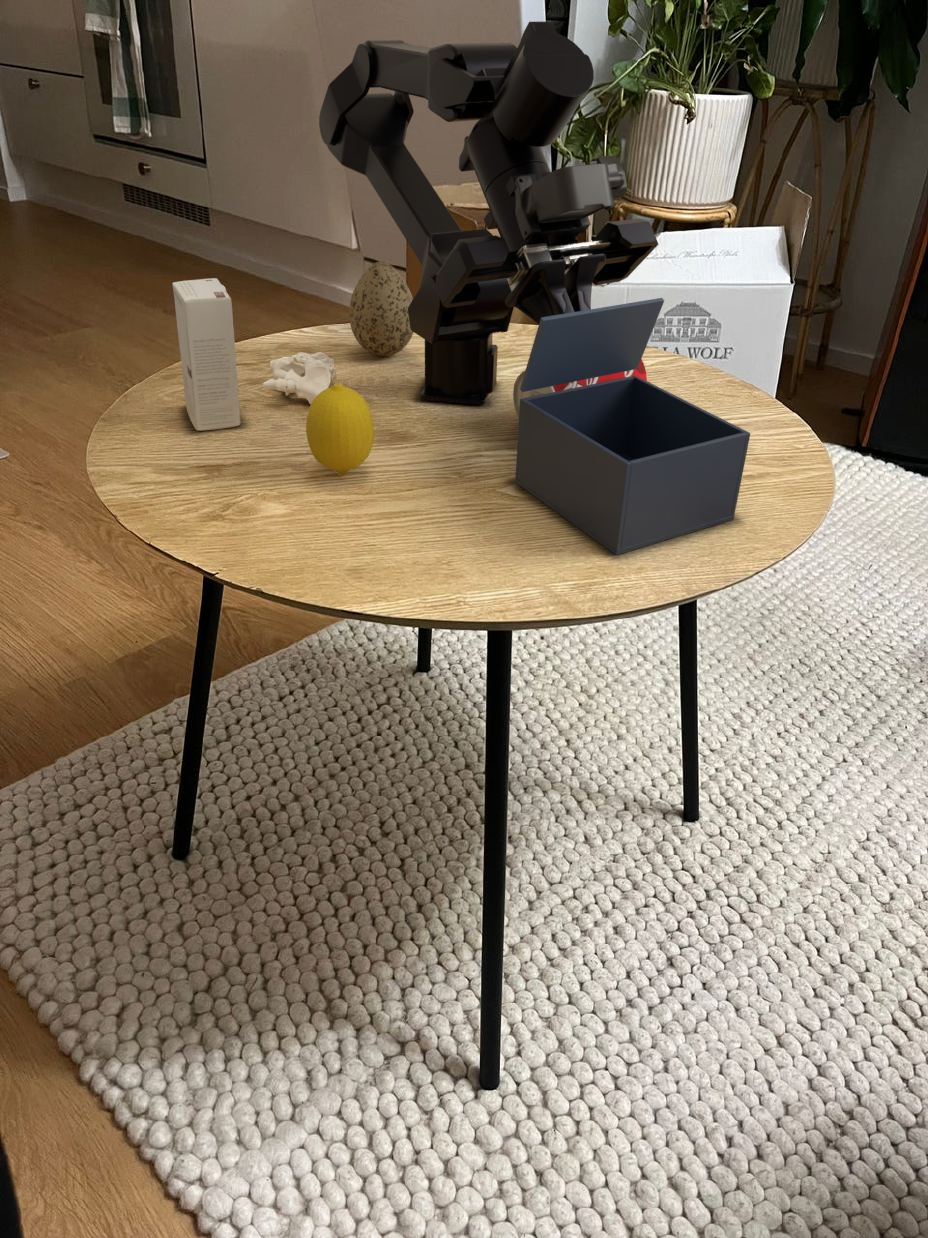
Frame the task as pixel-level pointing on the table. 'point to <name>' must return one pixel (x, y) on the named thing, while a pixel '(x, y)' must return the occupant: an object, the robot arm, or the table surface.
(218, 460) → the table surface
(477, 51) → the robot arm
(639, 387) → the carton
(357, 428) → the lemon
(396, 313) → the decorative egg
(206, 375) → the cosmetic box
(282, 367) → the anatomical pelvis
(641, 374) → the soda can
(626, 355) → the flap
